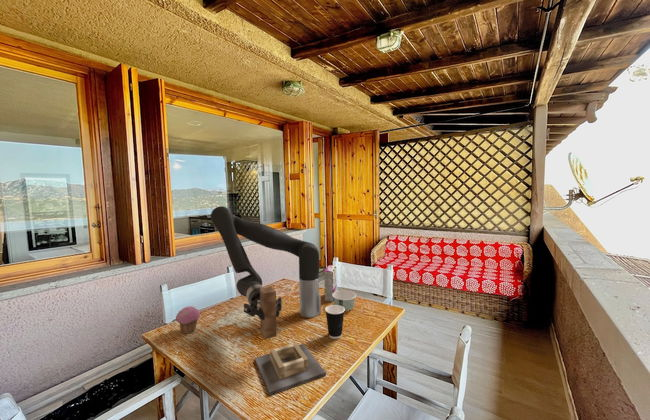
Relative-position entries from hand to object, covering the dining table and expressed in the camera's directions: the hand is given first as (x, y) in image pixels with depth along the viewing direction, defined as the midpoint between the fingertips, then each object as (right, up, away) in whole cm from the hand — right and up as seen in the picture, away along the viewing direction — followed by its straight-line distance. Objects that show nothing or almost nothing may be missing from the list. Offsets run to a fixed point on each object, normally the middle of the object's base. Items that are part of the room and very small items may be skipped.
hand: (270, 315), depth 86 cm
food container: (+27, -15, +48) cm, 57 cm away
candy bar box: (+21, -14, +60) cm, 65 cm away
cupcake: (-39, -17, +26) cm, 50 cm away
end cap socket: (+6, -18, +2) cm, 19 cm away
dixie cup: (+21, -17, +21) cm, 35 cm away
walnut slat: (-1, -7, +3) cm, 8 cm away
